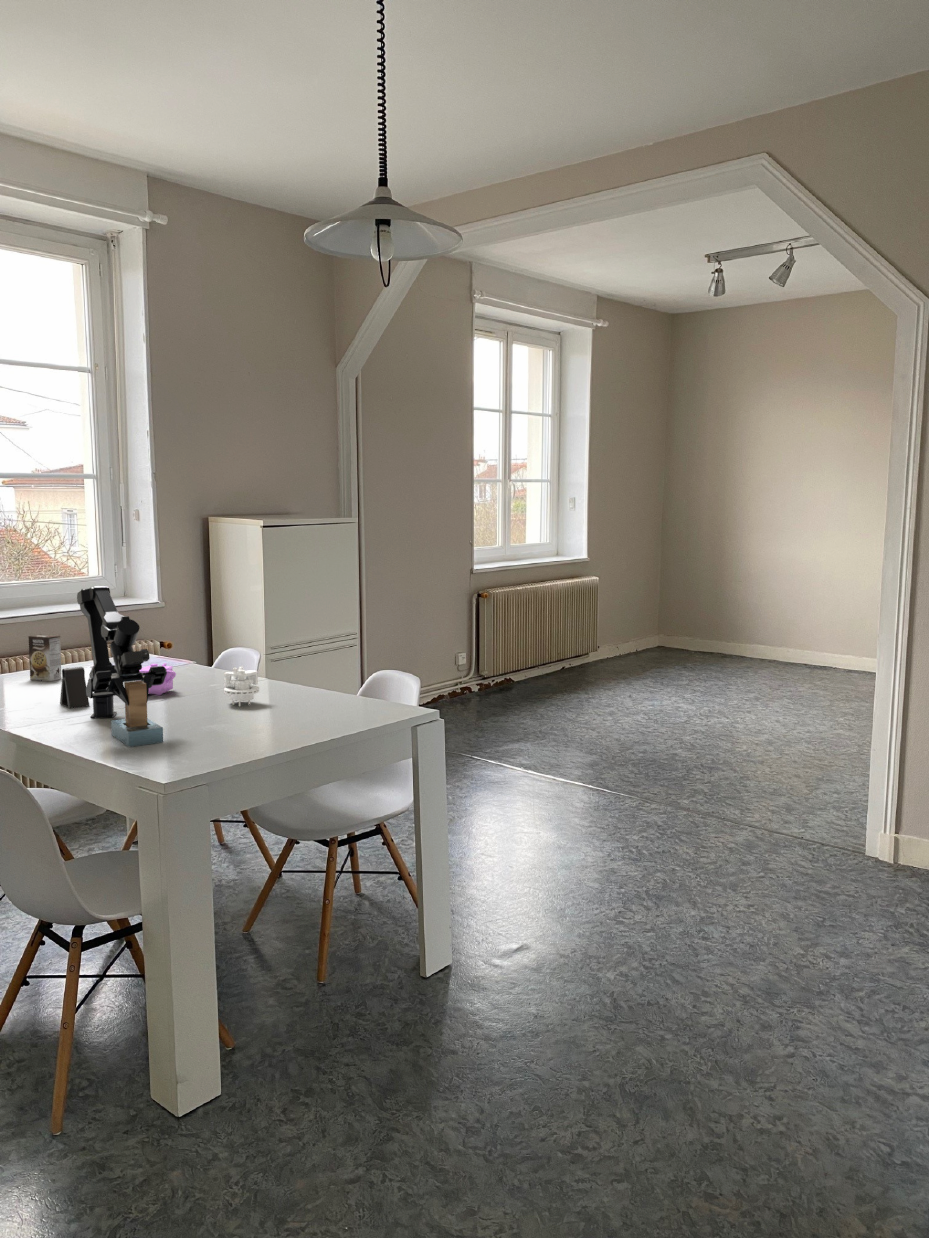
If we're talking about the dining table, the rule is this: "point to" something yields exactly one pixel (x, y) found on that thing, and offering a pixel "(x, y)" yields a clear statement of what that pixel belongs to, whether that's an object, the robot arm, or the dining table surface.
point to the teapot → (167, 682)
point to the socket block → (137, 733)
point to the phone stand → (73, 688)
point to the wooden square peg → (136, 704)
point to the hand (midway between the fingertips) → (137, 703)
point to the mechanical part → (241, 684)
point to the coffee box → (45, 657)
